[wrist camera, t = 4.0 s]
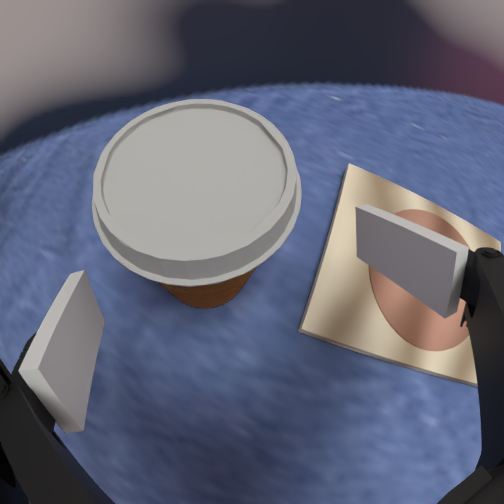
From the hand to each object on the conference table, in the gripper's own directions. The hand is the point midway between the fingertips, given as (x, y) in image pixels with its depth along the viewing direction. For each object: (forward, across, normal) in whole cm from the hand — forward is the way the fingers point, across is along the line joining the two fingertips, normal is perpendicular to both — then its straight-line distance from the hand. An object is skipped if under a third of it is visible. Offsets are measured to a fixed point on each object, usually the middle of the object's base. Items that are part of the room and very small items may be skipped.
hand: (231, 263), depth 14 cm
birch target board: (+4, +17, -8) cm, 20 cm away
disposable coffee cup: (+9, -1, -4) cm, 10 cm away
